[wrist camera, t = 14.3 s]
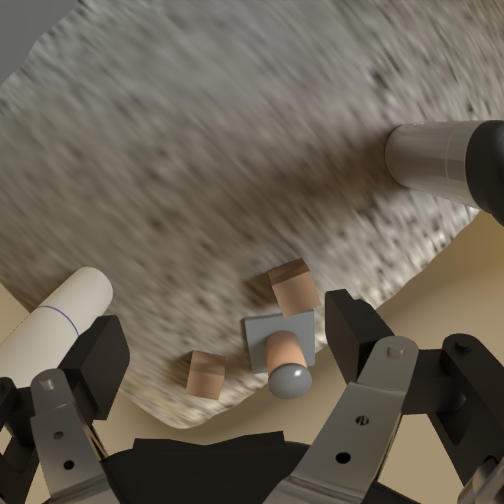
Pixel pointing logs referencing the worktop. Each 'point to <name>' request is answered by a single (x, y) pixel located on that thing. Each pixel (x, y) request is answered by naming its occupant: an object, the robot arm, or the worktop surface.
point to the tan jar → (286, 365)
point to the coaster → (268, 324)
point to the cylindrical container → (54, 326)
